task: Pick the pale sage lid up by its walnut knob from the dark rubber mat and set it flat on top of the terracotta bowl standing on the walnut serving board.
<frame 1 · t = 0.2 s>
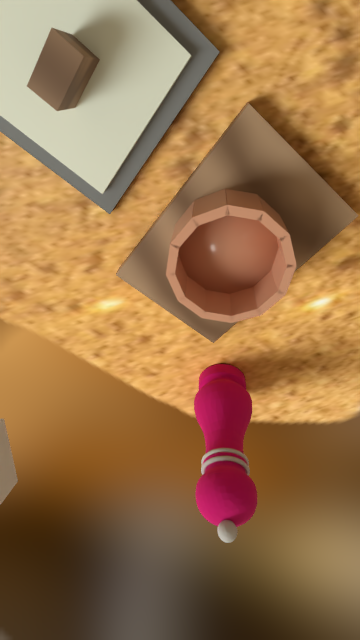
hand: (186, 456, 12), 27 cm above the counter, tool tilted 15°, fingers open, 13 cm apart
lid: (77, 73, 27), point 1 cm above the counter, touching mat
mat: (81, 73, 28), on the counter
bowl: (227, 247, 34), resting on board
pepper mill: (221, 379, 47), on the counter
board: (226, 241, 35), on the counter
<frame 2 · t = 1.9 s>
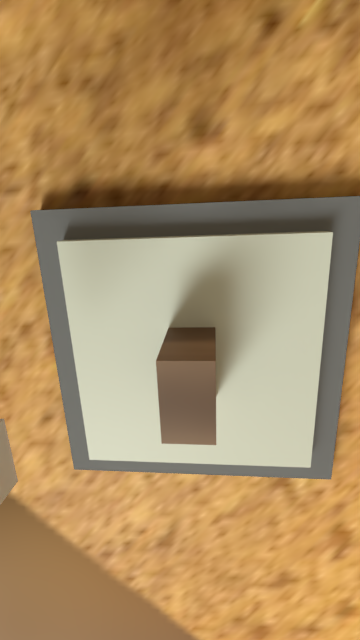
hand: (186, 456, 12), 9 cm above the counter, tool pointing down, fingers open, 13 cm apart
lid: (193, 356, 19), point 1 cm above the counter, touching mat
mat: (194, 349, 20), on the counter
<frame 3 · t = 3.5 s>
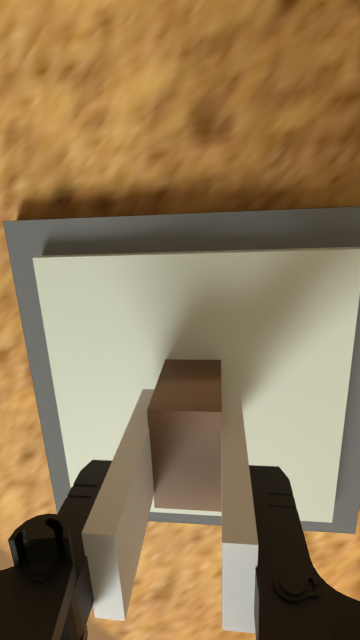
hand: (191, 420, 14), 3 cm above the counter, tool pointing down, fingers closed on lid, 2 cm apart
lid: (195, 391, 16), point 1 cm above the counter, touching gripper, mat
mat: (196, 381, 17), on the counter
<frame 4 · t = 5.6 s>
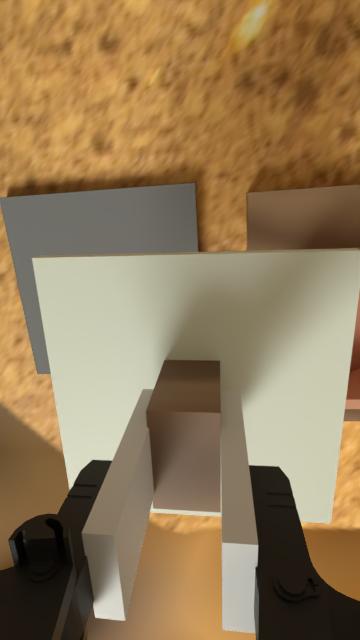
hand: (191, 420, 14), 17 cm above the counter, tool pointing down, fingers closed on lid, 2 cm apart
lid: (194, 392, 16), point 15 cm above the counter, touching gripper
mat: (110, 286, 31), on the counter
bowl: (335, 316, 28), resting on board
board: (329, 311, 29), on the counter
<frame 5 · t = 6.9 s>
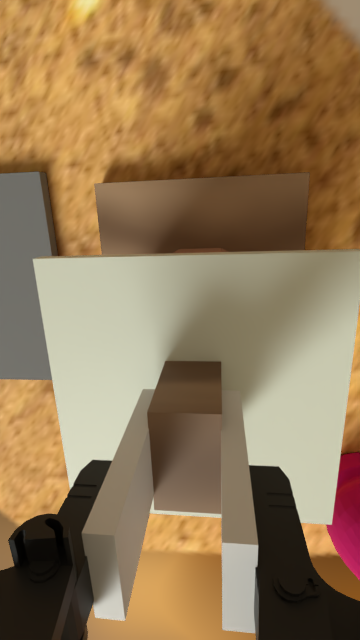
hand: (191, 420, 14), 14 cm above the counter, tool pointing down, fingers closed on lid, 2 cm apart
lid: (195, 393, 16), point 11 cm above the counter, touching gripper
pepper mill: (354, 479, 30), on the counter
board: (202, 318, 27), on the counter
when the fingers open (10 cm above the counter, at t = 7.9 s): lid drops 1 cm, resting on bowl.
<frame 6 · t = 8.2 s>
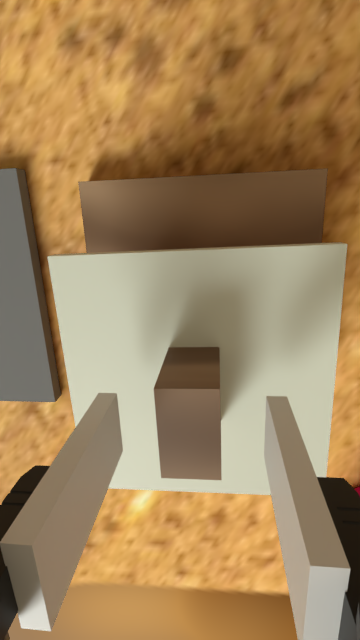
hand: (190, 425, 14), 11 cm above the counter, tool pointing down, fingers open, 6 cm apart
lid: (196, 377, 18), point 6 cm above the counter, touching bowl
board: (202, 333, 24), on the counter
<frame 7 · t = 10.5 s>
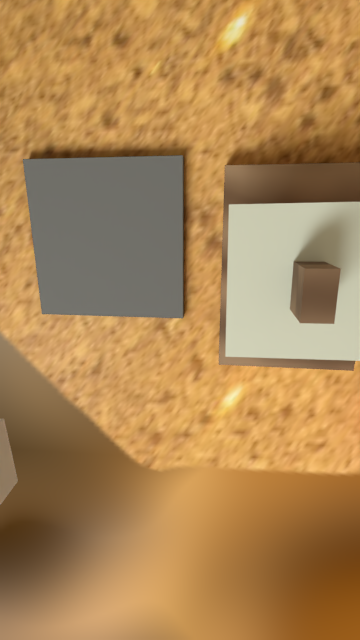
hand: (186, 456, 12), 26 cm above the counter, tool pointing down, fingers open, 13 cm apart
lid: (304, 284, 29), point 6 cm above the counter, touching bowl
mat: (109, 241, 36), on the counter
board: (290, 271, 35), on the counter
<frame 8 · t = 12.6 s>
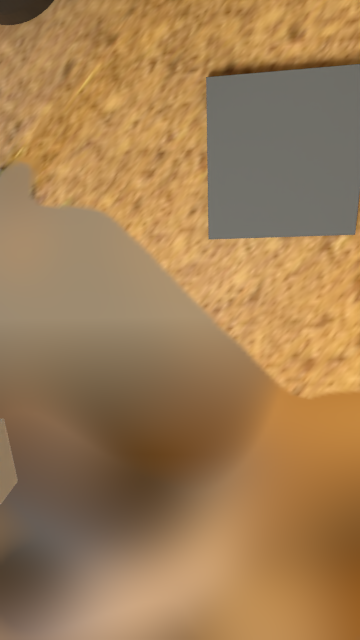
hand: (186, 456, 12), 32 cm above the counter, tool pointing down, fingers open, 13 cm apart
mat: (282, 160, 37), on the counter
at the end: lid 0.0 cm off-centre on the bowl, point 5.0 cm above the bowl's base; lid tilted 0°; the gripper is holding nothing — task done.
